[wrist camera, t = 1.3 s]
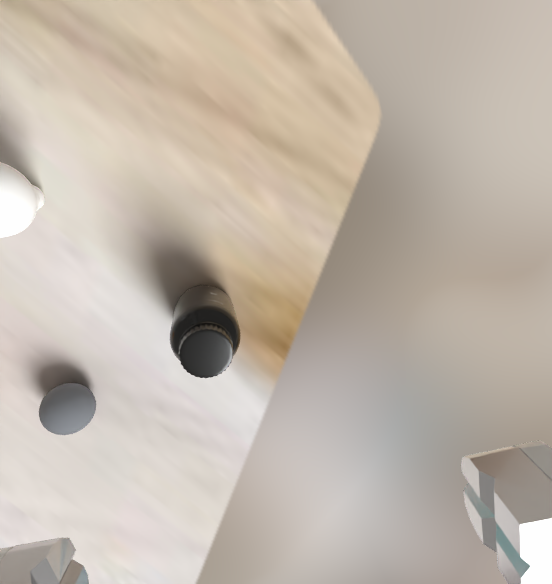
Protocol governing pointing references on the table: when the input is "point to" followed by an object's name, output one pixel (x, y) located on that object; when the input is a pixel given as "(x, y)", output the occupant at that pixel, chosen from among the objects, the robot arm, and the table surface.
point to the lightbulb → (17, 201)
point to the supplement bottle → (204, 331)
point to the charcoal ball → (67, 408)
